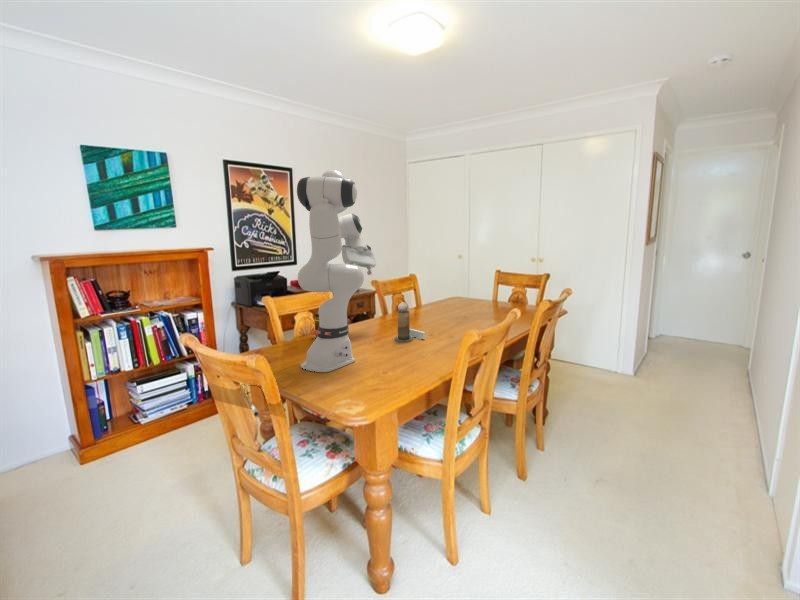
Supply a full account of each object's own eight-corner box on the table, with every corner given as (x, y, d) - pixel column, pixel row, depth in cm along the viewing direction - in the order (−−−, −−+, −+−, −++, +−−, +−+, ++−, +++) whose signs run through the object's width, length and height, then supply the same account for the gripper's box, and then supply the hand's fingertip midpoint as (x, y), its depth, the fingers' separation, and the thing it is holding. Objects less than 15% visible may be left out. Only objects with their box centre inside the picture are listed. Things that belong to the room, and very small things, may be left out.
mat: (408, 343, 183) (408, 341, 183) (391, 340, 187) (391, 339, 187) (416, 338, 191) (416, 336, 191) (399, 336, 195) (399, 334, 195)
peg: (406, 340, 185) (406, 303, 182) (395, 339, 187) (395, 302, 184) (411, 337, 190) (411, 301, 187) (401, 336, 192) (400, 300, 189)
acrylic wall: (424, 339, 188) (424, 332, 187) (423, 340, 187) (423, 332, 187) (405, 333, 198) (404, 327, 198) (403, 334, 198) (403, 327, 197)
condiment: (311, 338, 194) (310, 314, 192) (324, 334, 201) (322, 311, 199) (322, 340, 190) (320, 315, 188) (334, 336, 197) (333, 312, 195)
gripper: (345, 241, 181) (353, 267, 177) (373, 248, 198) (381, 273, 194) (336, 247, 185) (343, 274, 181) (365, 254, 201) (372, 278, 197)
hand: (363, 273), depth 187 cm, fingers open, 8 cm apart
